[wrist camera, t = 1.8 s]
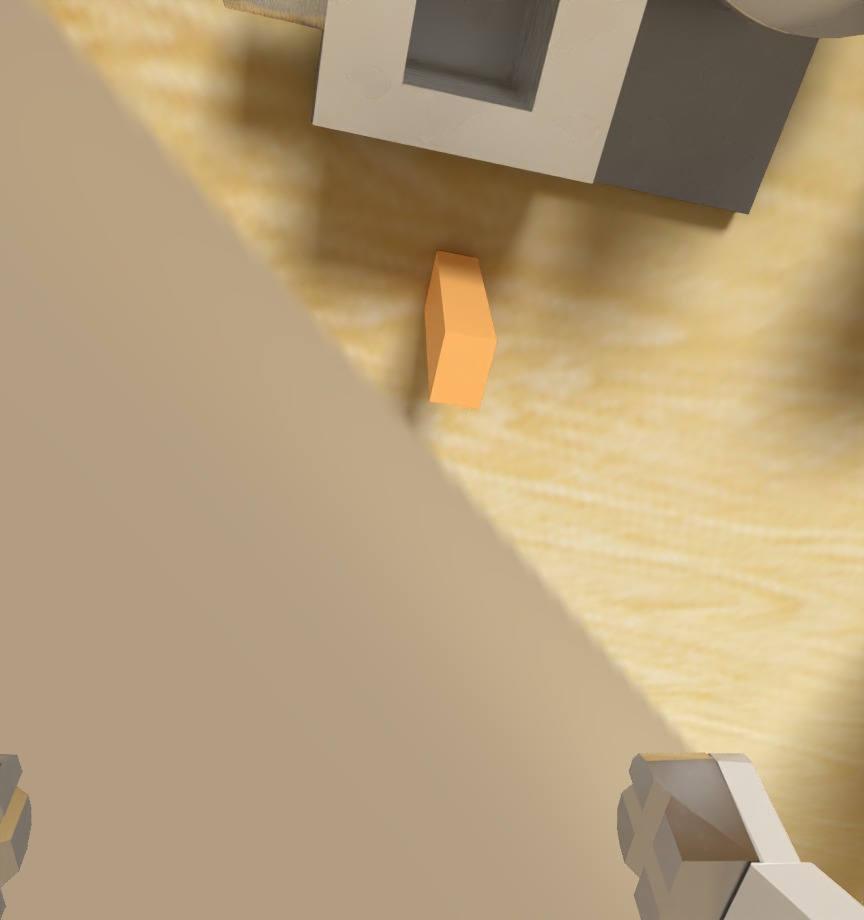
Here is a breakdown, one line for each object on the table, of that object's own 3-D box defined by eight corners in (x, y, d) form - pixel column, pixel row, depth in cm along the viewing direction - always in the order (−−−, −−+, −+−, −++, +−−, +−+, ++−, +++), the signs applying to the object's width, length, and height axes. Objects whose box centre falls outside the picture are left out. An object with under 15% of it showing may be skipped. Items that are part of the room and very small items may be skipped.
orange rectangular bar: (477, 258, 32) (497, 340, 25) (463, 315, 33) (478, 409, 26) (436, 250, 31) (445, 331, 25) (424, 308, 33) (429, 401, 26)
